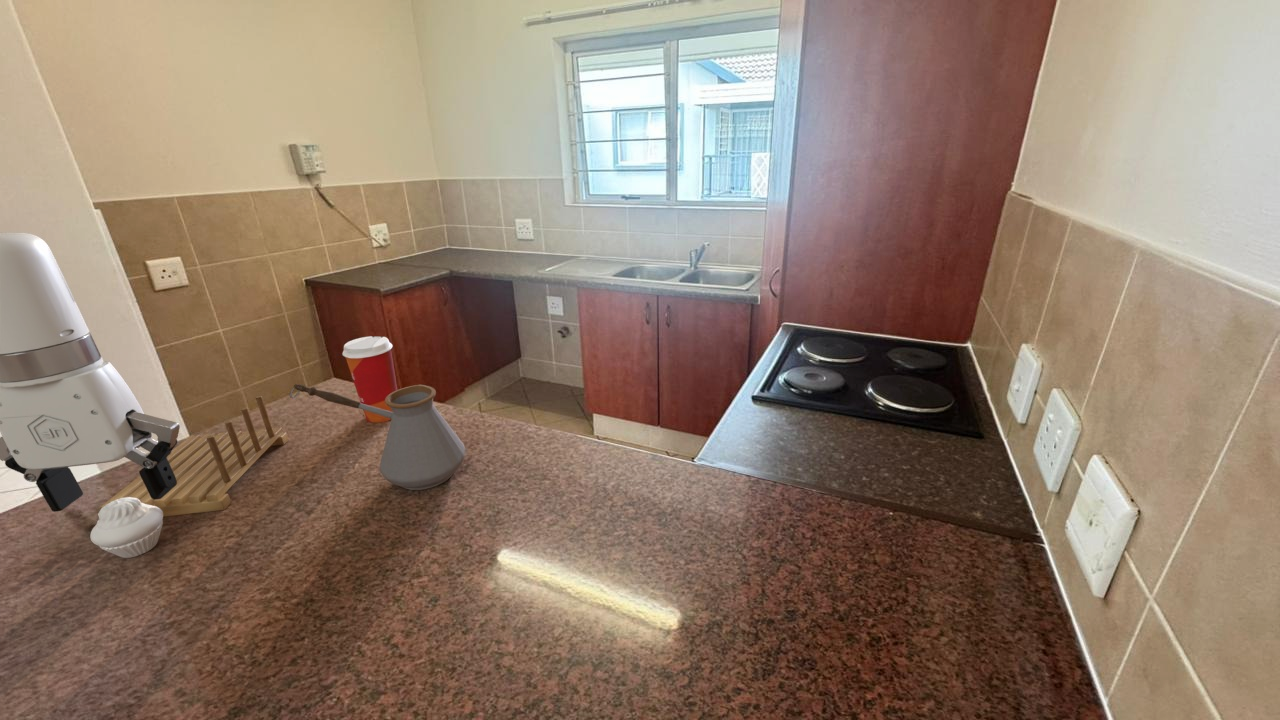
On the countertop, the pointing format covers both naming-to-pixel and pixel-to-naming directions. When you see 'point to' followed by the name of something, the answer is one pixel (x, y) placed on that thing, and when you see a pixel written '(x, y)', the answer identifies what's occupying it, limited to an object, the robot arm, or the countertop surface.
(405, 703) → the countertop surface
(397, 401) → the coffee pot
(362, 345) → the paper cup
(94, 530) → the muffin
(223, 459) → the rack
